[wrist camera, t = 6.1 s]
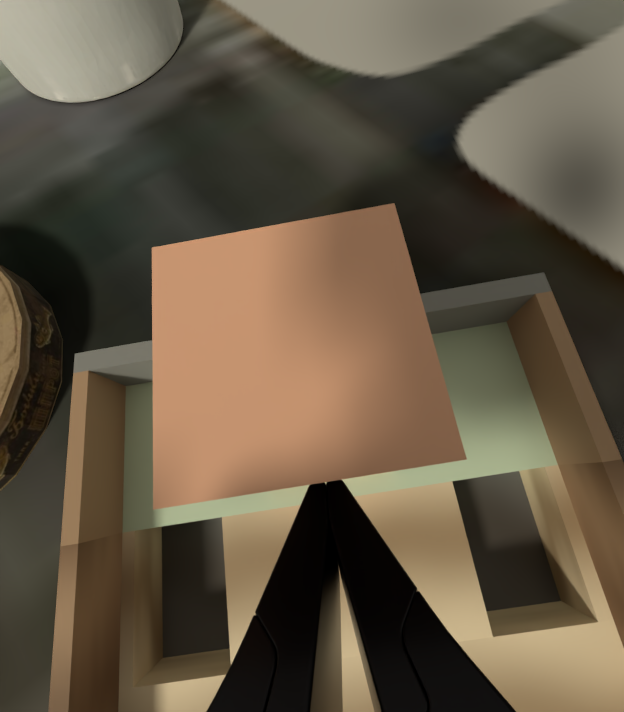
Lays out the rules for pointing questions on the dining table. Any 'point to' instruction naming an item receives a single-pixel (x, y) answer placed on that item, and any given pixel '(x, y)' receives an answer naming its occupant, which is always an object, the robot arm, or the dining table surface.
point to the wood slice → (25, 370)
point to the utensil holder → (87, 44)
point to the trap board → (413, 551)
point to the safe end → (481, 445)
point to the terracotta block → (292, 360)
